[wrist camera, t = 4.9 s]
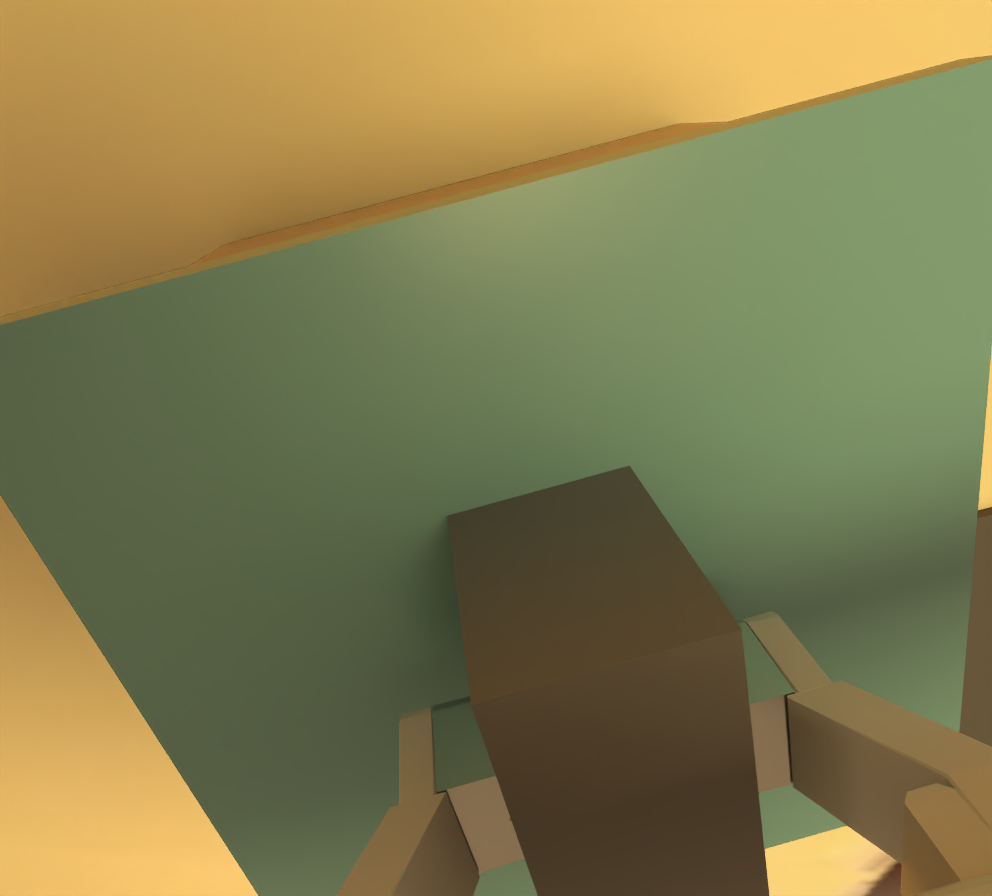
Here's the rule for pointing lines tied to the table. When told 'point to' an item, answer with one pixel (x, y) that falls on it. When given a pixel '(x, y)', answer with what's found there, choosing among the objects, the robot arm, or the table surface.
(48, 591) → the table surface
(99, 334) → the lid
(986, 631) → the rubber mat
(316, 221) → the storage box
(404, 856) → the robot arm
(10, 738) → the table surface
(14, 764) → the table surface
